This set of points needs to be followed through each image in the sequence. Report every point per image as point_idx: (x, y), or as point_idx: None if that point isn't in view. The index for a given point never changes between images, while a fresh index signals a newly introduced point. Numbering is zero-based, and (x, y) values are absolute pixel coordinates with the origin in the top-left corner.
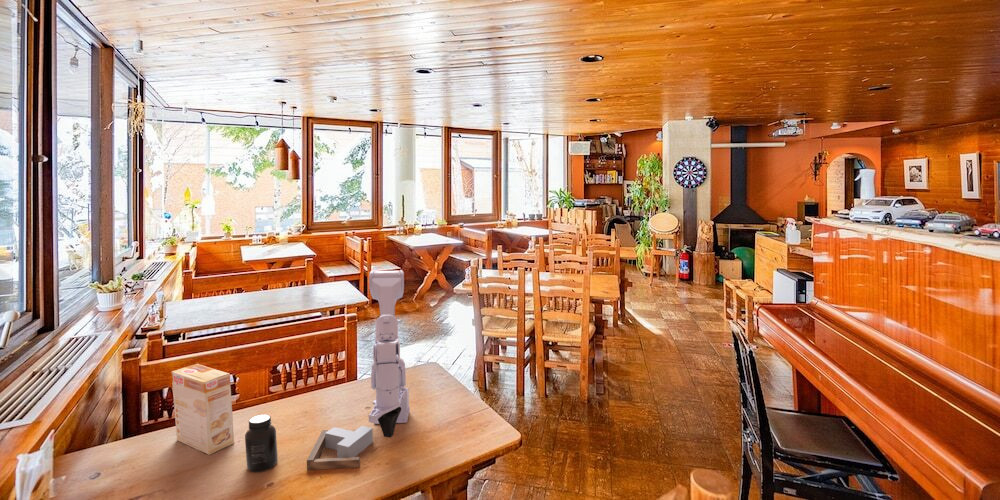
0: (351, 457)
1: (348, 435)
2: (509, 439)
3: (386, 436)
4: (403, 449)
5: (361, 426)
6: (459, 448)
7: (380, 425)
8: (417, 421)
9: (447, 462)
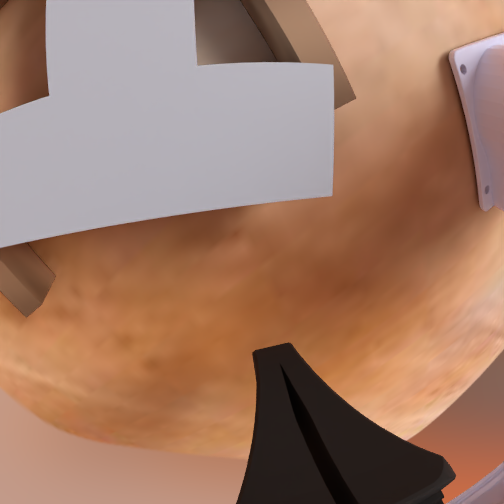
0: (6, 269)
1: (97, 82)
2: None
3: (255, 369)
4: None
5: (320, 72)
6: None
7: (254, 428)
8: (487, 238)
9: None
